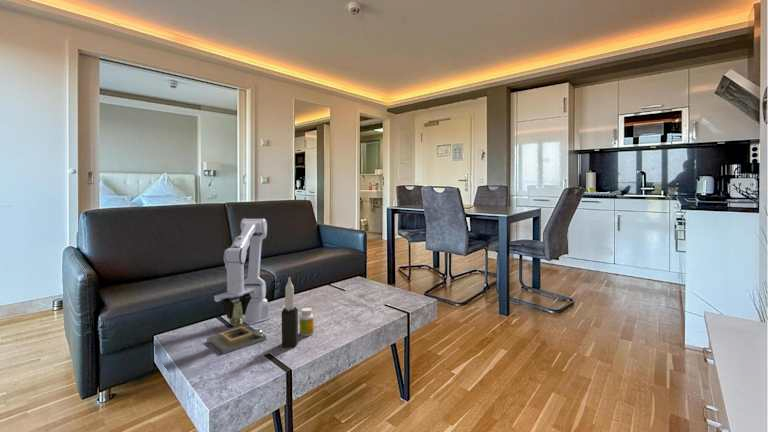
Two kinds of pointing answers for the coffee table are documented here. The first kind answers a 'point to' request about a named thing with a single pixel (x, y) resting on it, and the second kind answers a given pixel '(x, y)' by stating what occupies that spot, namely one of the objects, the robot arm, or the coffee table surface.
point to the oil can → (237, 312)
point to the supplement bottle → (306, 322)
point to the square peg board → (236, 339)
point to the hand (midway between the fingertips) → (236, 316)
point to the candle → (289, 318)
